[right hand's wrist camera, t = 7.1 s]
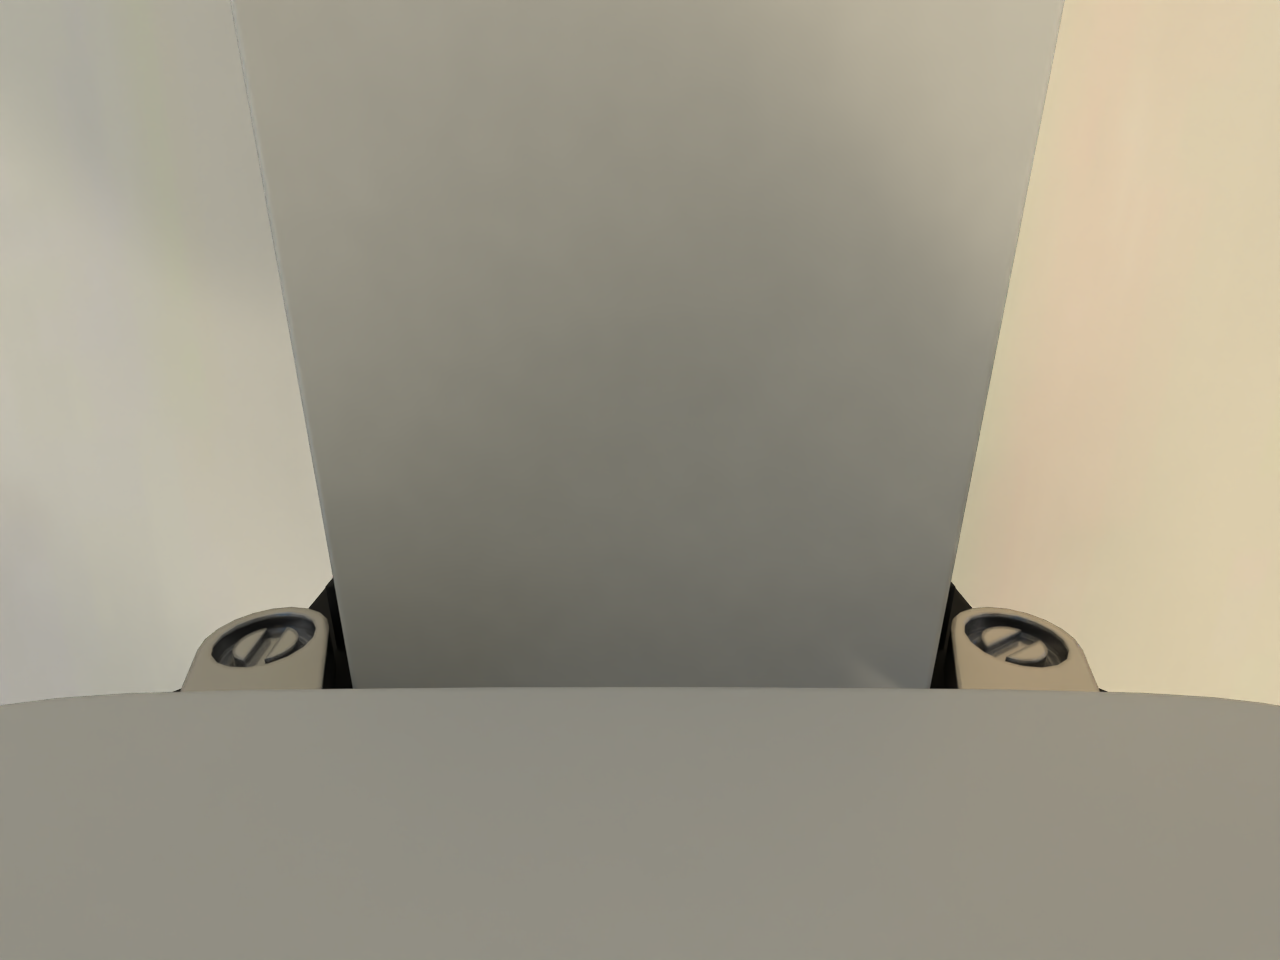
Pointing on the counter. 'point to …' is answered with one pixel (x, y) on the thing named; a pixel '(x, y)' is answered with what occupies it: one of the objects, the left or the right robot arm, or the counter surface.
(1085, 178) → the counter surface
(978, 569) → the counter surface
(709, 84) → the beam
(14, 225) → the counter surface
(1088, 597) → the counter surface
